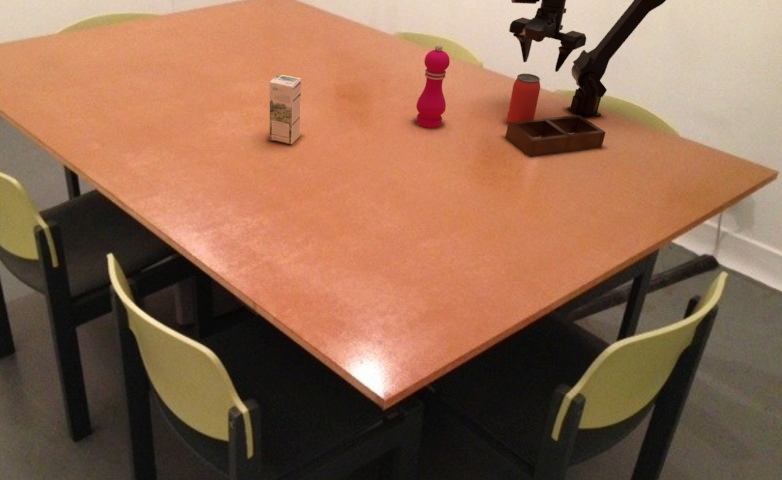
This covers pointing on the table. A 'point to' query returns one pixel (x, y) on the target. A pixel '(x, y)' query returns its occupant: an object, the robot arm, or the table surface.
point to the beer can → (524, 98)
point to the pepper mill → (433, 89)
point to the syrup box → (285, 108)
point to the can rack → (554, 135)
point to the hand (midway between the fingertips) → (540, 66)
